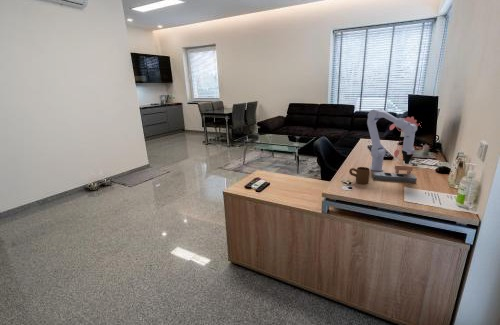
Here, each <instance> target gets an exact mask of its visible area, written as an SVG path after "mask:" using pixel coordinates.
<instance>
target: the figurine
mask: <svg viewBox="0 0 500 325" xmlns="http://www.w3.org/2000/svg"><path fill="white" fill-rule="evenodd" d="M403 118H404V120H405V121H407V122H410V123H411V124H415V125H416V126H417V128H418V127H419V126H420V127H421V125H420V123H417V122H418V120H417V119H415V116H411V117H410V116H407V117H403ZM395 128H396V129H397V130H398V131H399V132H402V131H403V132H404V130H402V129H400V128H399V127H397V126H395V125H394V123H392V124H391V125H389V131H392V130H394V129H395ZM402 142H404V140H401V141H398V142H397V143H396V144H397V146H396V148H397V149H395V150H394V152H393V155H394V158H396V157H397V156H399V154H400V150H399V143H402ZM411 154H413V151H412V152H411Z"/></svg>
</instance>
